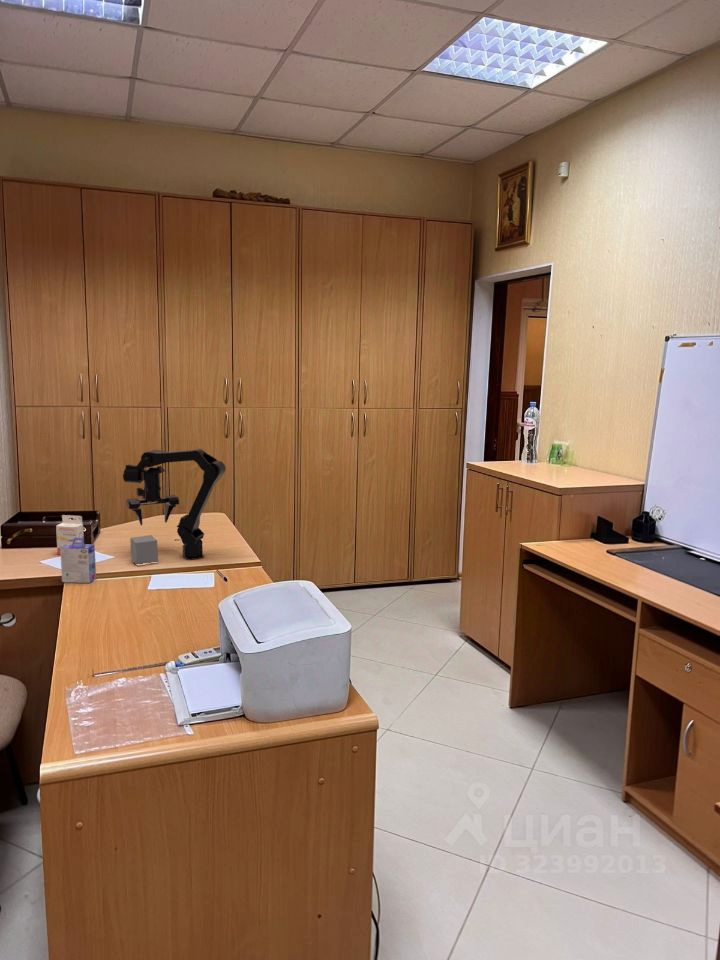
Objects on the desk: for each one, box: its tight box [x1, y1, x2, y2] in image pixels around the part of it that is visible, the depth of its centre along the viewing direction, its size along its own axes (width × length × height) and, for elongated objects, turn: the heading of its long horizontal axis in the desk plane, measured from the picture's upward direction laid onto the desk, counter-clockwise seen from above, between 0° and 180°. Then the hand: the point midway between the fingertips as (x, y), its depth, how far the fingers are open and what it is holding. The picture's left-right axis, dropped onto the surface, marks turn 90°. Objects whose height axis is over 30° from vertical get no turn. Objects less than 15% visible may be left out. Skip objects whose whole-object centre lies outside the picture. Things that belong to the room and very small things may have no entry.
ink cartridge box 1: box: [55, 514, 85, 556], centre depth 258 cm, size 9×5×15 cm, turn 84°
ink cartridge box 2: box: [60, 537, 97, 584], centre depth 230 cm, size 10×6×14 cm, turn 89°
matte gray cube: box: [129, 534, 159, 564], centre depth 251 cm, size 8×8×9 cm
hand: (153, 523), depth 259 cm, fingers open, 9 cm apart
